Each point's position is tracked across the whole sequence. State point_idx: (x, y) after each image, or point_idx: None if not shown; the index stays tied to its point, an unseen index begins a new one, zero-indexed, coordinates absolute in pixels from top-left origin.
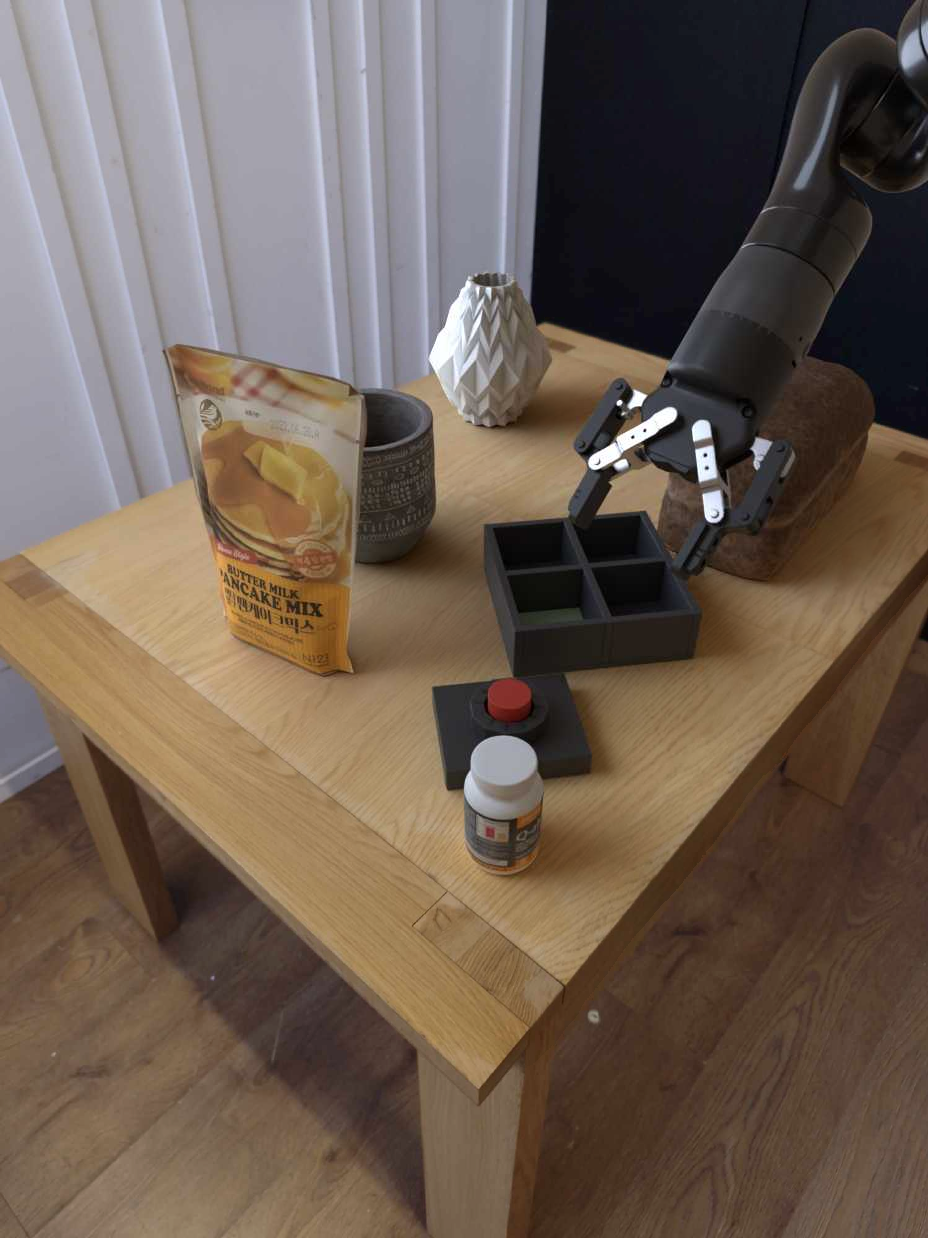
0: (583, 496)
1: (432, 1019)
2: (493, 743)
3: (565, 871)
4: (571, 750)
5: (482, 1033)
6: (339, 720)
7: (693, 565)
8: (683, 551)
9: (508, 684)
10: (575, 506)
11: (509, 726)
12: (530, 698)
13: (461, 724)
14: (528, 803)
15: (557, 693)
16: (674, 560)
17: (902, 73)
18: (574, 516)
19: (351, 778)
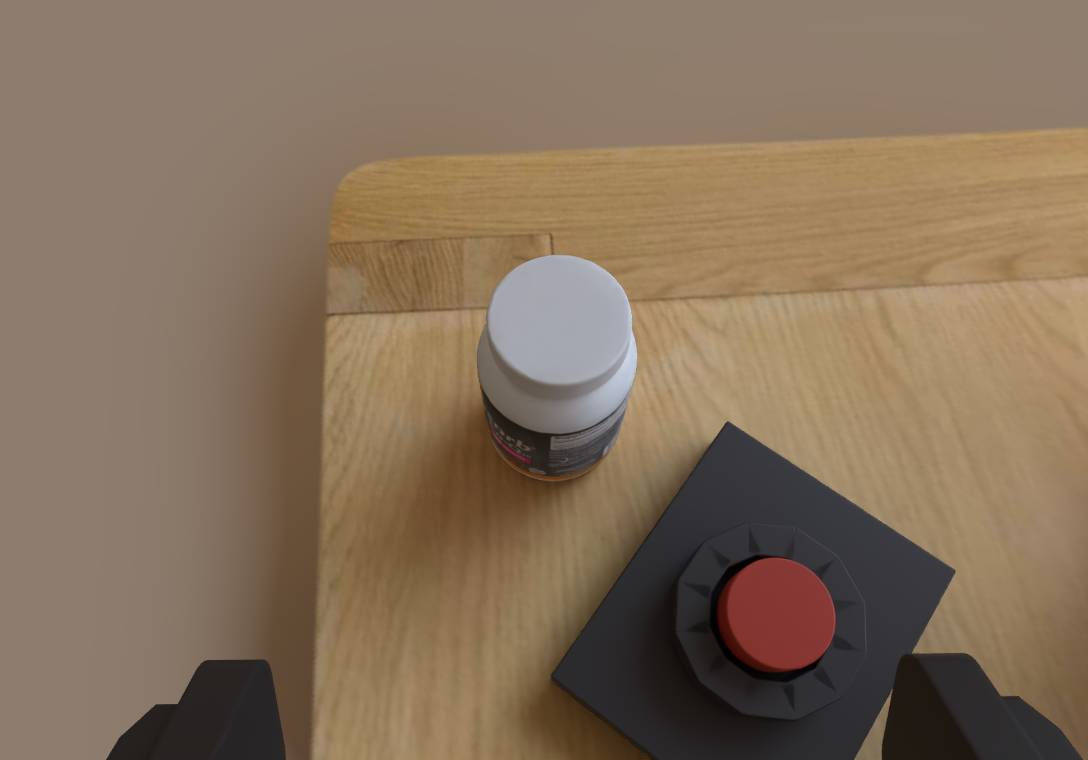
0: (1009, 755)
1: (429, 171)
2: (608, 332)
3: (438, 461)
4: (594, 654)
5: (366, 200)
6: (1002, 409)
7: (140, 727)
8: (201, 738)
9: (807, 633)
10: (985, 697)
11: (716, 563)
12: (734, 638)
13: (814, 533)
14: (484, 343)
15: None
16: (242, 680)
17: None
18: (931, 659)
19: (854, 338)
